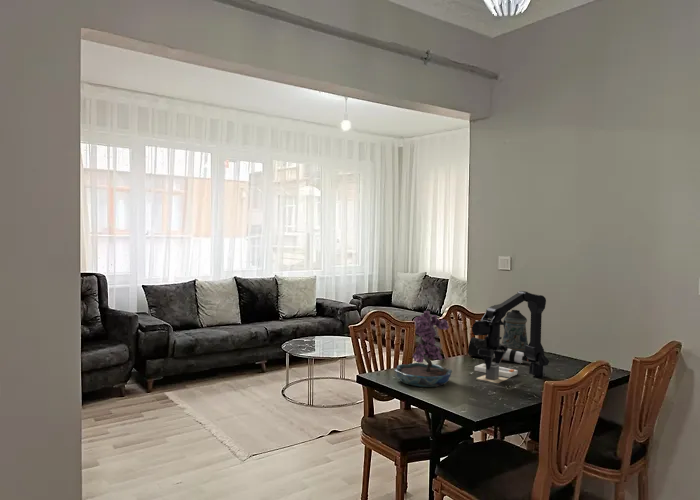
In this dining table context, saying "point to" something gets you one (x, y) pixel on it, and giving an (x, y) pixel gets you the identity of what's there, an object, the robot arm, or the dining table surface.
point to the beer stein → (515, 331)
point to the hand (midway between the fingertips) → (492, 367)
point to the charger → (493, 372)
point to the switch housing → (502, 371)
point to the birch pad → (491, 380)
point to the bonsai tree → (425, 356)
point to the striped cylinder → (509, 355)
